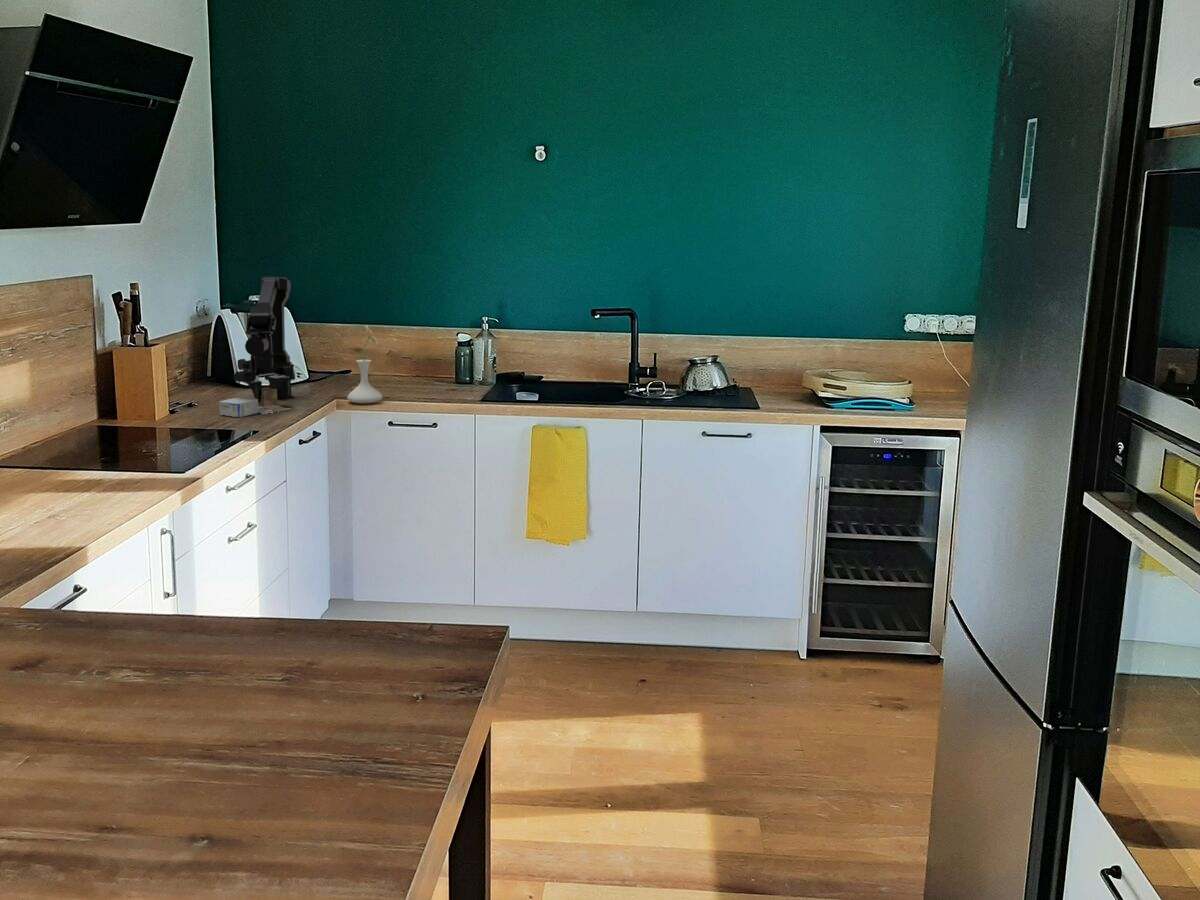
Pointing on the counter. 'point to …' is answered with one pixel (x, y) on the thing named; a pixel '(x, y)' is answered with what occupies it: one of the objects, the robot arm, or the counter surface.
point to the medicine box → (238, 407)
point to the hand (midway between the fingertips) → (265, 401)
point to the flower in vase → (365, 379)
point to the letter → (264, 410)
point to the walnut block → (268, 397)
